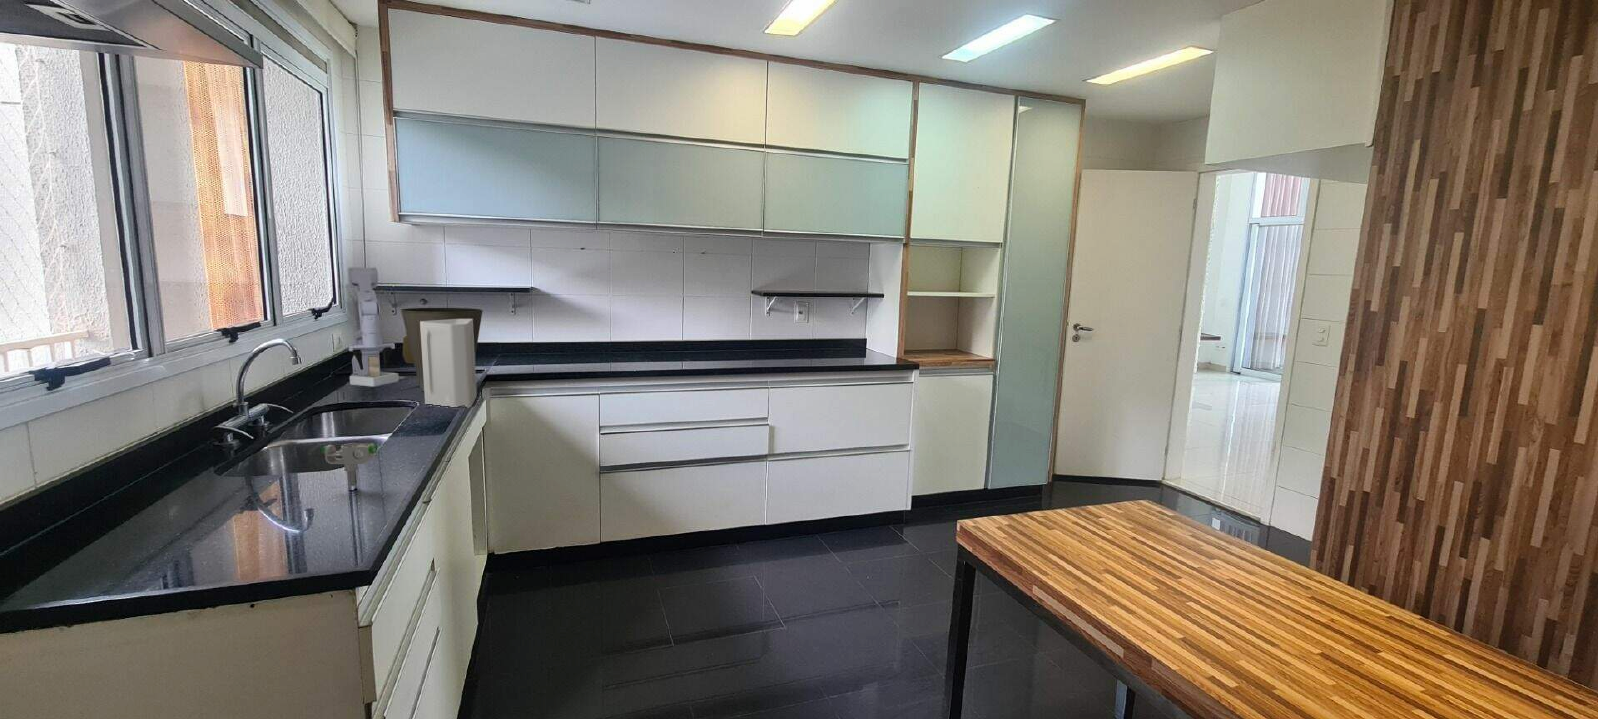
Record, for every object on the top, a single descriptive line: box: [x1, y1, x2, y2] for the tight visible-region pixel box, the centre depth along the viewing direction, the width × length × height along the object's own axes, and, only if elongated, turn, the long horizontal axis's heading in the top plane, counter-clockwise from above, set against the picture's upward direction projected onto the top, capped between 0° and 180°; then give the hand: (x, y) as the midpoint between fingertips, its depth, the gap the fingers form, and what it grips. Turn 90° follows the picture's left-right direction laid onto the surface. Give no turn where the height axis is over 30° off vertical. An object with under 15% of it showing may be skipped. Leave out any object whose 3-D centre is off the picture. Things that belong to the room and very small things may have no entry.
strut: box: [367, 356, 381, 378], centre depth 248 cm, size 4×4×10 cm
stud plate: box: [398, 375, 409, 380], centre depth 259 cm, size 8×8×3 cm
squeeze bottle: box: [402, 331, 414, 365], centre depth 297 cm, size 8×8×18 cm
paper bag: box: [420, 319, 477, 409], centre depth 222 cm, size 19×15×28 cm
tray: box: [349, 371, 400, 388], centre depth 248 cm, size 11×11×4 cm
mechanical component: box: [322, 442, 378, 486], centre depth 141 cm, size 3×10×10 cm, turn 95°
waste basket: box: [400, 307, 484, 392], centre depth 243 cm, size 27×20×30 cm
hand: (373, 368), depth 248 cm, fingers open, 7 cm apart
